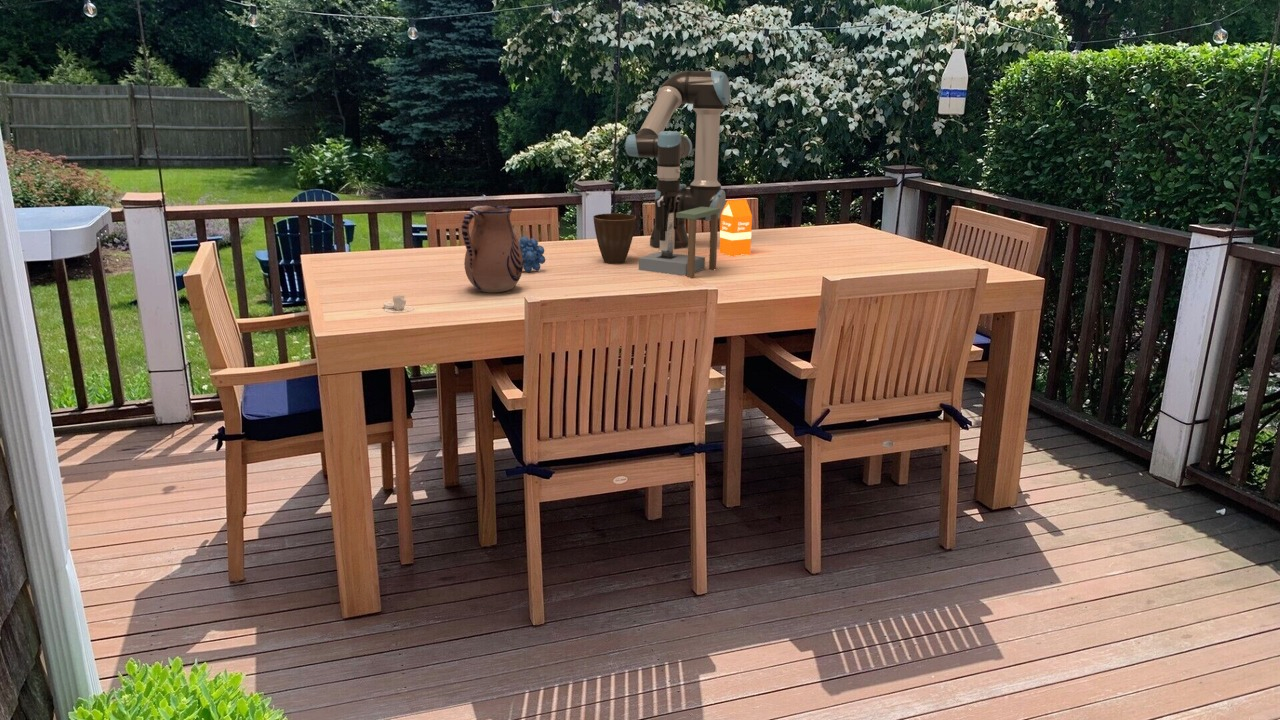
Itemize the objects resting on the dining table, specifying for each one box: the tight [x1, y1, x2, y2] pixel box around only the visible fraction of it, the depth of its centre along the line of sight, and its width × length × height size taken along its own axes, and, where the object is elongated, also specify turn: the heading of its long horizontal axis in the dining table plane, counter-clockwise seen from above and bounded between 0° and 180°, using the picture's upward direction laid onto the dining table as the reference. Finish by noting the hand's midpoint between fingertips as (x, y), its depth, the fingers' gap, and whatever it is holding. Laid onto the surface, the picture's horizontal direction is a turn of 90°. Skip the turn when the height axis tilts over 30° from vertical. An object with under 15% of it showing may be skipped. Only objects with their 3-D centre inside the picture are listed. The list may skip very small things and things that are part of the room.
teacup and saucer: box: [383, 294, 415, 314], centre depth 257 cm, size 9×8×4 cm
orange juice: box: [718, 198, 753, 257], centre depth 340 cm, size 8×9×20 cm
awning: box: [676, 207, 720, 279], centre depth 306 cm, size 7×18×21 cm, turn 149°
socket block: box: [638, 251, 706, 277], centre depth 313 cm, size 18×14×4 cm
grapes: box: [518, 235, 547, 273], centre depth 305 cm, size 12×7×12 cm, turn 110°
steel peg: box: [660, 212, 674, 259], centre depth 312 cm, size 4×4×16 cm
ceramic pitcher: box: [461, 204, 524, 294], centre depth 276 cm, size 18×21×25 cm
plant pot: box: [592, 213, 637, 265], centre depth 323 cm, size 15×15×16 cm
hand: (667, 248), depth 313 cm, fingers closed on steel peg, 4 cm apart
